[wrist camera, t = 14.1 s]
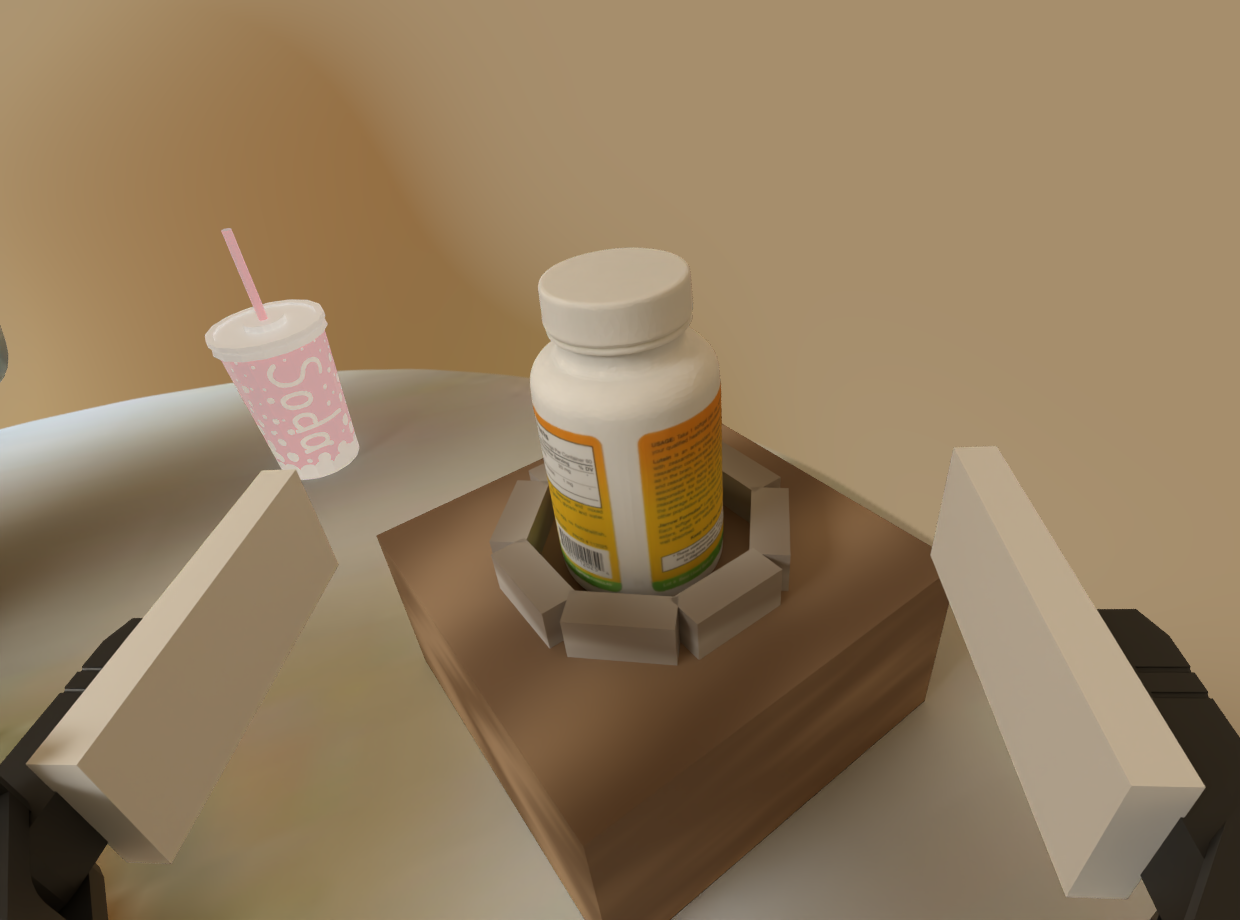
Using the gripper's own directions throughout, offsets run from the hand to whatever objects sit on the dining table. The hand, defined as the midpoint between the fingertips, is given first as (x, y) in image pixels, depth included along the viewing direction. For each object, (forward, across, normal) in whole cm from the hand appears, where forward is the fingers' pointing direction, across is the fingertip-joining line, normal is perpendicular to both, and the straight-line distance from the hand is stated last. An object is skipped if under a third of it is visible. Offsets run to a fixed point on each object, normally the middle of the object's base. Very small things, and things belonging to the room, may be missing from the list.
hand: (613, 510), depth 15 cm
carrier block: (+7, 0, -14) cm, 16 cm away
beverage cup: (+23, -21, -14) cm, 34 cm away
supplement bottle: (+6, 0, -7) cm, 10 cm away
